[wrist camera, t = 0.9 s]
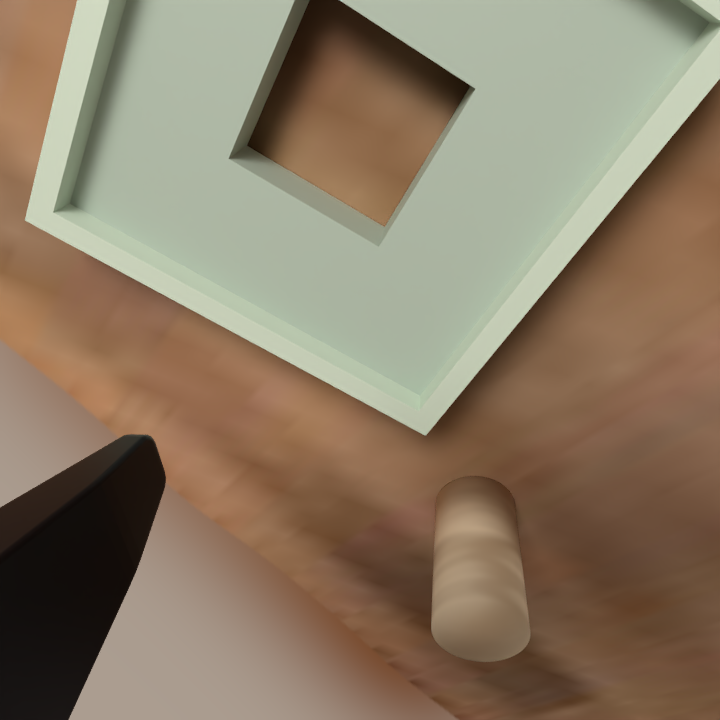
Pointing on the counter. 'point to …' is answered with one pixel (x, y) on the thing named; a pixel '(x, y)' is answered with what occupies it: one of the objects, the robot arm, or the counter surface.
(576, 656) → the counter surface
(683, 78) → the box
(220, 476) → the counter surface
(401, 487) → the counter surface
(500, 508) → the peg
